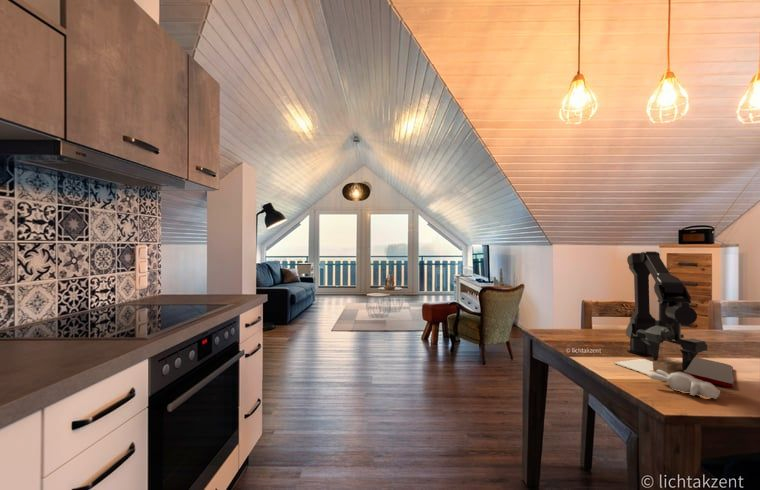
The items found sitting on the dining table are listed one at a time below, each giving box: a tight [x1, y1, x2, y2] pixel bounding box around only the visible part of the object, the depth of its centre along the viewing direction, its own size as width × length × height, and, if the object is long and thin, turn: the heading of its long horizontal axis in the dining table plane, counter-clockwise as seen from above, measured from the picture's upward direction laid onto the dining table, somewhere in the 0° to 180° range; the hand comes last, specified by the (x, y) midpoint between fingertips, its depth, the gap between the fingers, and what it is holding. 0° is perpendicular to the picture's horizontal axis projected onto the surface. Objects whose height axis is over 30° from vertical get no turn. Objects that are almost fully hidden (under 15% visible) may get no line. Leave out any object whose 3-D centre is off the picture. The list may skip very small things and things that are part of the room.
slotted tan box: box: [652, 358, 683, 374], centre depth 119 cm, size 8×4×3 cm, turn 107°
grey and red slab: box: [682, 356, 735, 388], centre depth 120 cm, size 12×2×25 cm
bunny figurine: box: [649, 370, 721, 400], centre depth 106 cm, size 10×5×15 cm
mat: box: [613, 358, 665, 377], centre depth 123 cm, size 17×14×1 cm
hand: (669, 365), depth 119 cm, fingers open, 9 cm apart
